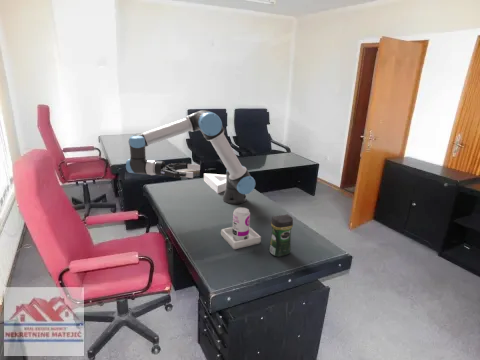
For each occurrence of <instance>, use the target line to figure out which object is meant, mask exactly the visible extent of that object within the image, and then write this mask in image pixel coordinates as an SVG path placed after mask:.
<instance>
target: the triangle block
mask: <svg viewBox="0 0 480 360" xmlns="http://www.w3.org/2000/svg"><path fill="white" fill-rule="evenodd" d="M203 181H204V182H205V183H206V184H207V186H208V187H210V189H212V190H213V191H214V192H215V193H216V194H220V193H222V192H225V190H226V174H217V173H203Z"/></svg>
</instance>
